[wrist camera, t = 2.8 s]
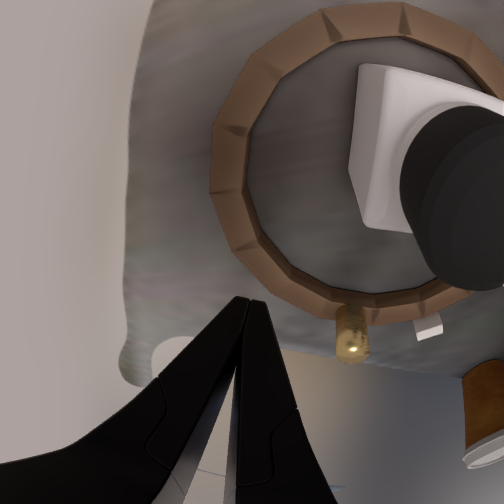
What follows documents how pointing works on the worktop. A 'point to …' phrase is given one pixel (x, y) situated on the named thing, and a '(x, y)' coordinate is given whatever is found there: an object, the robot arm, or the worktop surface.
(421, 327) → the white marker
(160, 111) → the worktop surface
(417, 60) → the worktop surface
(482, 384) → the disposable coffee cup
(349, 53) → the worktop surface
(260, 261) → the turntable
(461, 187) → the medicine bottle
